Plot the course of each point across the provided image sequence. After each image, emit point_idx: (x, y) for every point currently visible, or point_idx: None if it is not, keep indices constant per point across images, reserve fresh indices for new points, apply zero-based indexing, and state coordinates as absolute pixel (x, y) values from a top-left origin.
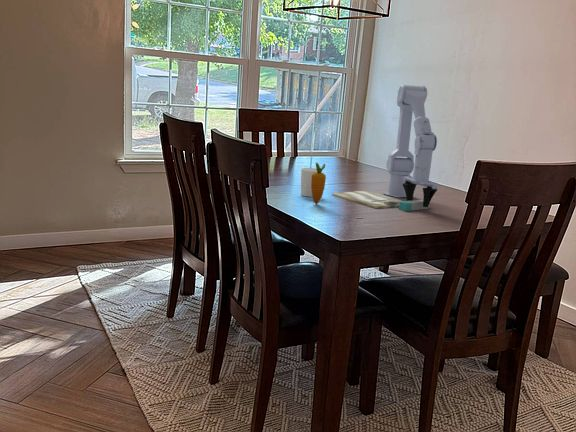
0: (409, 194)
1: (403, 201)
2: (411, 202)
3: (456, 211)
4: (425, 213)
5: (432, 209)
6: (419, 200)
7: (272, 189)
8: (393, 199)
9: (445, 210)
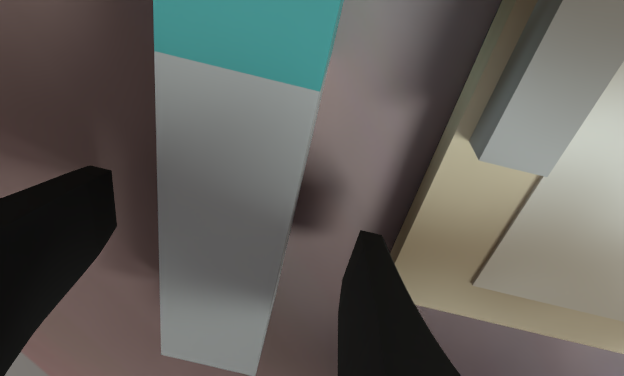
0: (362, 335)
1: (325, 28)
2: (195, 93)
3: (41, 346)
4: (15, 43)
5: (151, 279)
6: (236, 307)
7: None
8: (610, 303)
9: (88, 322)
